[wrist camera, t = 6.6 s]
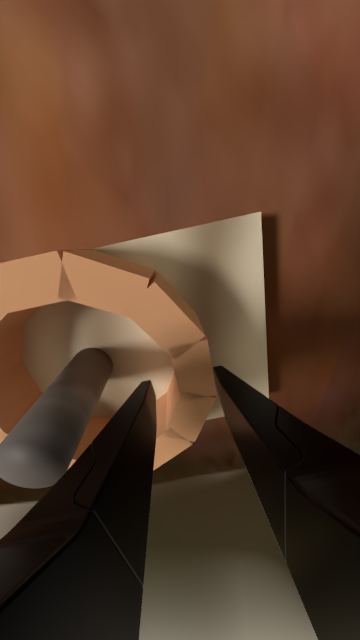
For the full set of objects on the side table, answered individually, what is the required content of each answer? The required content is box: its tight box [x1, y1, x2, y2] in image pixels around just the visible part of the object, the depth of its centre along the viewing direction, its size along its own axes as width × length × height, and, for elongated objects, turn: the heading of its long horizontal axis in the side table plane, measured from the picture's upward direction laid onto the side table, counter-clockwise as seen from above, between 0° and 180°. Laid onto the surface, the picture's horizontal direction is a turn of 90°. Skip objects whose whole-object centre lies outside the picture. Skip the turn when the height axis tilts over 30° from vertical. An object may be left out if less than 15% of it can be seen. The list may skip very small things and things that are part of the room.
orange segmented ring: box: [0, 249, 217, 470], centre depth 11 cm, size 13×13×3 cm
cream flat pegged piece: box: [0, 212, 269, 488], centre depth 10 cm, size 19×13×8 cm
